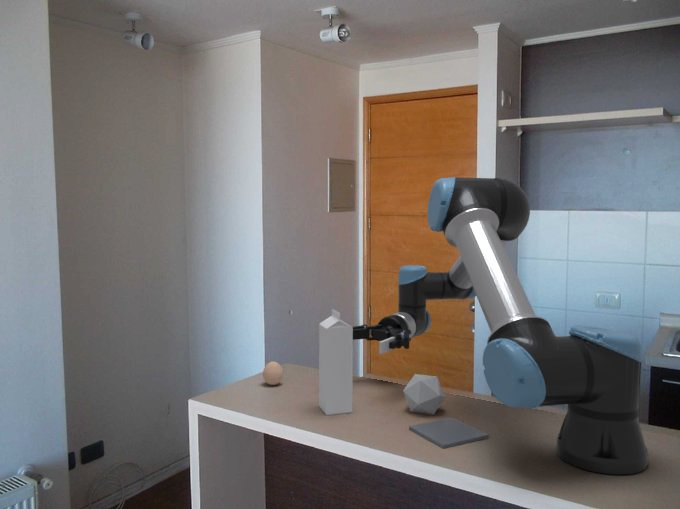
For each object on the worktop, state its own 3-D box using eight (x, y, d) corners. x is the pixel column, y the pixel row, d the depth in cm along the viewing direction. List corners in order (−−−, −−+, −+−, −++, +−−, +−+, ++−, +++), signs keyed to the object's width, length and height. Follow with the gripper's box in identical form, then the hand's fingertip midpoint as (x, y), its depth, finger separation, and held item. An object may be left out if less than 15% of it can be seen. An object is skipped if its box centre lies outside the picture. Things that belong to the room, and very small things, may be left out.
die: (449, 411, 136) (431, 371, 140) (452, 403, 129) (432, 361, 133) (415, 425, 136) (398, 385, 140) (416, 418, 128) (398, 376, 132)
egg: (287, 385, 153) (286, 362, 153) (269, 389, 150) (269, 365, 150) (276, 380, 157) (276, 358, 157) (259, 384, 154) (259, 361, 154)
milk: (326, 415, 132) (325, 314, 130) (318, 406, 137) (318, 309, 135) (353, 412, 133) (353, 312, 131) (344, 404, 139) (344, 307, 137)
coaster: (488, 437, 119) (488, 434, 119) (443, 448, 114) (443, 445, 114) (452, 420, 129) (452, 417, 129) (409, 429, 123) (409, 426, 123)
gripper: (440, 349, 153) (403, 368, 135) (354, 337, 166) (310, 353, 148) (441, 319, 153) (403, 334, 135) (354, 310, 166) (310, 322, 148)
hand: (354, 344), depth 142 cm, fingers open, 13 cm apart
